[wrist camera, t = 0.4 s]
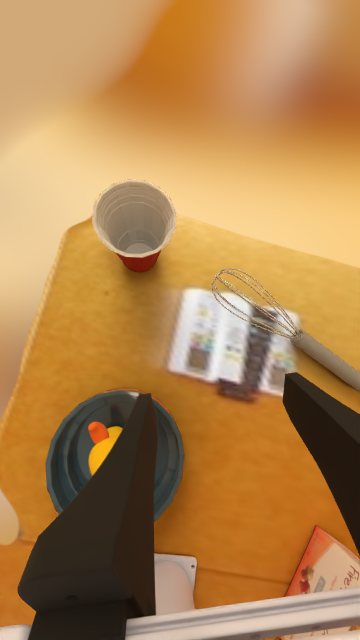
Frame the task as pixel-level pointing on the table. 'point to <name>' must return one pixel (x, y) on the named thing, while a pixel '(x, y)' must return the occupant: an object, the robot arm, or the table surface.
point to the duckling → (101, 443)
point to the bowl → (76, 444)
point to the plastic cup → (134, 222)
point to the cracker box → (324, 573)
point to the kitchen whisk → (303, 340)
